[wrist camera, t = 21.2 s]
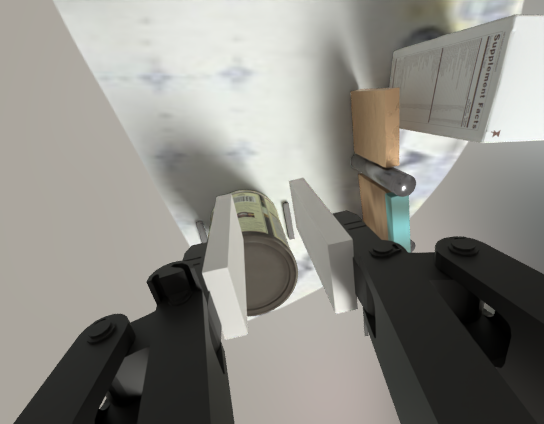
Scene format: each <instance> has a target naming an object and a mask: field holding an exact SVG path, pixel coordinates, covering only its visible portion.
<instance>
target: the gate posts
mask: <svg viewBox="0 0 544 424" xmlns="http://www.w3.org/2000/svg"><path fill="white" fill-rule="evenodd" d="M399 93H400V87H394V88H373V89H359V90H354V91H351V107H352V123H353V140H354V153H356V154H354V155H353V156H352V158H351V166H352V167H353V168H354V169H356V170H358V171H359V172H361V173H362V174H364V175H366V176H367V177H369V178H370V179H372V180H374V181H375V182H377V183H378V184H380V185H382V186H383V187H385V188H386V189H388V190H390V191H391V192H393V193H394V194H396V195H398V196H400V197H405V196H408V195H410V194H411V193H412V192H413V191H414V189H415V186H416V181H415V178H414V177H413V176H411V175H409V174H406V173H404V172H402V171H400V170H398V169H396V168H394V167H393V166H398V165H399ZM410 248H411V252H412V251H413V250H414V249H415V243H414V242H413V241H412V240H411V239H410Z"/></svg>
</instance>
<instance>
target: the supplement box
mask: <svg viewBox="0 0 544 424" xmlns="http://www.w3.org/2000/svg"><path fill="white" fill-rule="evenodd" d="M394 87H400V93H399V128H400V129H406V130H411V131H416V132H422V133H428V134H433V135H439V136H444V137H450V138H456V139H461V140H467V141H472V142H478V143H493V142H514V141H535V140H544V15H512V16H508V17H505V18H501V19H498V20H495V21H491V22H488V23H485V24H481V25H478V26H475V27H471V28H468V29H465V30H461V31H457V32H454V33H450V34H446V35H443V36H440V37H438V38H435V39H432V40H428V41H425V42H421V43H418V44H414V45H411V46H408V47H404V48H401V49H398V50H395V51H394V53H393V60H392V68H391V76H390V84H389V88H394Z"/></svg>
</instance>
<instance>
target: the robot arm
mask: <svg viewBox="0 0 544 424" xmlns="http://www.w3.org/2000/svg"><path fill="white" fill-rule="evenodd" d="M289 184H290V190H291V196H292V202H293V208H294V215H295V221H296V227H297V229H298V232H299V234H300V236H301V238H302V240H303V243H304V245H305V247H306V249H307V252H308V254H309V256H310V258H311V260H312V263H313V265H314V267H315V269H316V271H317V274H318V276H319V278H320V280H321V282H322V285H323V287H324V289H325V291H326V294H327V295H328V298H329V300H330V302H331V304H332V307H333V309H334V311H335V313H336V314H338V313H342V312H347V311H351V310H355V309H358V308H357V297H358V299H359V301H360V302H361V304H362V306H363V314H364V315H363V316H364V331H365V336H368V332H369V335H370V338H371V341H372V343H373V346H374V349H375V352H376V355H377V358H378V361H379V363H380V366H381V369H382V372H383V375H384V378H385V380H386V383H387V386H388V389H389V392H390V395H391V398H392V400H393V403H394V406H395V409H396V412H397V415H398V417H399V420H400V423H401V424H544V274H542V273H540V272H538V271H537V270H535V269H533V268H531V267H529V266H527V265H525V264H523V263H521V262H519V261H517V260H516V259H514V258H512V257H510V256H508V255H506V254H504V253H502V252H500V251H498V250H496V249H494V248H492V247H491V246H489V245H487V244H485V243H483V242H480V241H478V240H475V239H471V238H466V237H449V238H444V239H441V240H440V241H438V242H437V243H436V245H435V252H429V253H409V252H407V250H406V249H405V248H404V247H403V246H402V245H400V244H398V243H396V242H393V241H388V240H381V239H380V238H379V237H378V236H377V235H376V234H375V233H374V232H373V231H372V230H371V229H370V228H369V227H368V226H367V225H366V224H365V223H364V222H363V221H362V220H361V219H360V218H359V217H358V216H357V215H356V214H354V213H351V212H349V211H343V212H338V213H334V214H332V213H331V212H330V210H329V209H328V208H327V207H326V206H325V204H324V203H323V202H322V201H321V199H320V198H319V197H318V196H317V194H316V193H315V192H314V191H313V189H312V188H311V187H310V186H309V184H308V183H307V182H306V181H305V179H304V178H301V179H296V180H291V181H289ZM147 284H148V286H149V289H150V291H151V293H152V295H153V297H154V299H155V301H156V304H157V307H156V311H154V312H152V313H151V314H149V315H146V316H144V317H142V318H140V319H138V320H135V321H133V322H131V323H130V322H129V320H128V318H127V316H125V315H123V314H113V315H109V316H106V317H103V318H101V319H99V320H97V321H95V322H94V323H93V324H91V325H90V326H89V327H87V328H86V329H85V330H84V331H83V332H82V333H81V334H80V335H79V336H78V338H77V339H76V340H75V342H74V343H73V344H72V346H71V347H70V348H69V350H68V351H67V353H66V354H65V355H64V357H63V358H62V359H61V360H60V362H59V363H58V364H57V366H56V367H55V369H54V370H53V371H52V372H51V374H50V375H49V377H48V378H47V379H46V381H45V382H44V384H43V385H42V386H41V387H40V389H39V390H38V391H37V393H36V394H35V395H34V397H33V398H32V399H31V401H30V402H29V403H28V405H27V406H26V408H25V409H24V410H23V411H22V413H21V414H20V415H19V417H18V418H17V420H16V421H15V422H14V424H234V417H233V409H232V402H231V395H230V387H229V380H228V373H227V365H226V358H225V351H224V349H223V346H222V343H221V329H222V332H223V335H224V337H225V340H226V339H231V338H235V337H239V336H244V335H247V334H248V327H247V305H246V284H245V263H244V242H243V236H242V232H241V228H240V224H239V221H238V217H237V213H236V209H235V205H234V201H233V197H232V194H226V195H221V196H217V198H216V203H215V208H214V213H213V218H212V224H211V229H210V234H209V239H208V242H206V243H201V244H197V245H192V246H191V247H190V248H189V249H188V250H187V251H186V253H185V254H184V258H183V261H177V262H172V263H169V264H167V265H165V266H162V267H161V268H159V269H158V270H156V271H155V272H154V273H153V274H152V275H151V276H149V278H148V280H147ZM484 302H485V303H486V304H488V305H489V306H490V307H492V308H493V309H494V310H495V314H492V313H490V312H488V311H487V310H486V309H484ZM105 396H106V400H105V402H104V404H103V406H102V407H101V408H100V409H99V407H100V405H101V403H102V401H103V399H104V397H105Z"/></svg>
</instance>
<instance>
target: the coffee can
mask: <svg viewBox="0 0 544 424" xmlns="http://www.w3.org/2000/svg"><path fill="white" fill-rule="evenodd" d="M229 194H232V197H233V201H234V205H235V209H236V213H237V217H238V221H239V224H240V228H241V232H242V236H243V242H244V263H245V284H246V305H247V316H256V315H261V314H264V313H267V312H269V311H271V310H274V309H275V308H277V307H278V306H280V305H281V304H282V303H284V302H285V301H286V300H287V299H288V298H289V296H290V295H291V293H292V292H293V290H294V288H295V286H296V283H297V278H298V267H297V263H296V260H295V258H294V256H293V254H292V252H291V250H290V247H289V245H288V242H287V239H286V236H285V234H284V231H283V228H282V225H281V222H280V220H279V217H278V212H277V210H276V207H275V206H274V204H273V203H272V202H271V200H270V199H269V198H267V197H266V196H265V195H263V194H261V193H259V192H256V191H253V190H238V191H234V192H232V193H229ZM214 208H215V207H214ZM213 213H214V209H213V211H212V214H211V219H210V221H211V222H210V227H209V233H208V238H207V242H208V239H209V234H210V229H211V224H212V218H213Z"/></svg>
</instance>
